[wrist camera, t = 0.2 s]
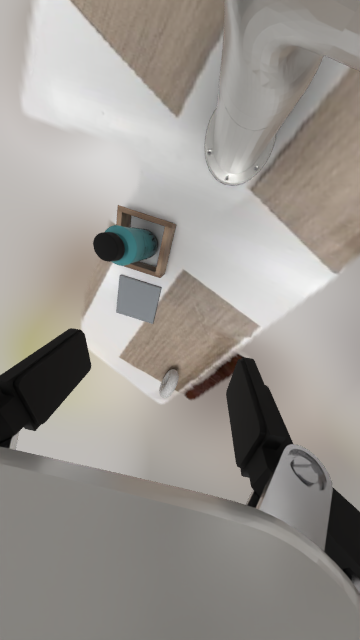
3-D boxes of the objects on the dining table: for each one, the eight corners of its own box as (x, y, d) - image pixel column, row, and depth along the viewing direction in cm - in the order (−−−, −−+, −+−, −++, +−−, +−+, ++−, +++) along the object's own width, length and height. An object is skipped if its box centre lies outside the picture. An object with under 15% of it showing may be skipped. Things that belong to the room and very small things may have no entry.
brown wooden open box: (127, 208, 37) (113, 203, 31) (176, 224, 38) (170, 222, 31) (122, 260, 43) (109, 264, 37) (164, 273, 43) (158, 279, 37)
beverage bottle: (133, 252, 42) (82, 263, 24) (137, 224, 39) (83, 214, 21) (156, 261, 42) (123, 278, 25) (163, 234, 39) (129, 231, 21)
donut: (169, 381, 63) (163, 405, 54) (161, 377, 62) (154, 400, 53) (182, 366, 58) (178, 389, 49) (174, 362, 58) (168, 384, 49)
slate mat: (121, 274, 45) (119, 275, 44) (161, 287, 45) (160, 288, 44) (117, 310, 51) (116, 312, 50) (153, 322, 51) (152, 323, 50)
